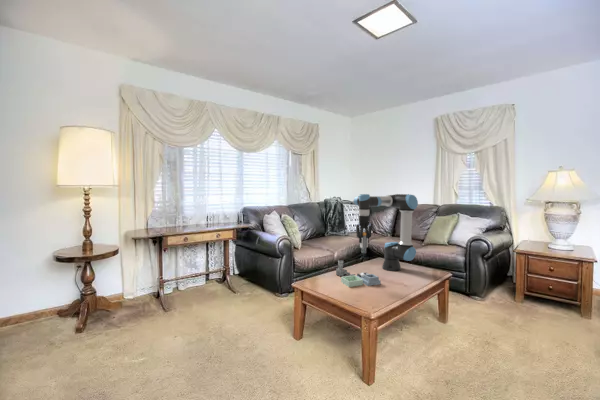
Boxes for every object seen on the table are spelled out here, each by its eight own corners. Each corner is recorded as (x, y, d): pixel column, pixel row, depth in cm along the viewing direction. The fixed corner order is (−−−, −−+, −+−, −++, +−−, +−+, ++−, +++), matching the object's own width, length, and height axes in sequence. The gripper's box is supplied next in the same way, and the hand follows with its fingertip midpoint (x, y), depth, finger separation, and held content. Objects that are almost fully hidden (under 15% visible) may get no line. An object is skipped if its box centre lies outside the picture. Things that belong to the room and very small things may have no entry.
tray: (354, 280, 222) (354, 275, 222) (362, 285, 211) (362, 279, 211) (341, 281, 218) (341, 277, 218) (348, 287, 207) (348, 281, 207)
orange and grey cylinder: (364, 252, 216) (364, 232, 215) (367, 253, 212) (367, 232, 212) (360, 252, 214) (360, 232, 214) (363, 253, 211) (363, 233, 210)
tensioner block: (355, 278, 225) (355, 271, 225) (367, 277, 229) (367, 270, 229) (367, 285, 209) (367, 278, 209) (380, 284, 213) (380, 276, 213)
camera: (341, 259, 240) (355, 262, 229) (341, 273, 241) (355, 277, 229) (334, 260, 234) (348, 264, 223) (333, 275, 235) (348, 280, 224)
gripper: (370, 214, 218) (370, 245, 219) (351, 215, 213) (351, 246, 214) (376, 215, 211) (376, 247, 212) (357, 216, 206) (356, 248, 207)
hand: (363, 247), depth 213 cm, fingers closed on orange and grey cylinder, 3 cm apart
